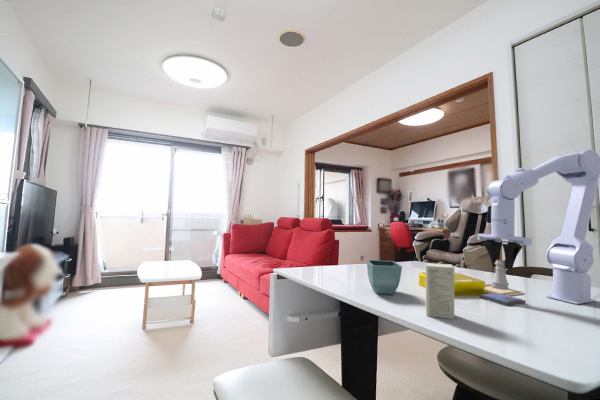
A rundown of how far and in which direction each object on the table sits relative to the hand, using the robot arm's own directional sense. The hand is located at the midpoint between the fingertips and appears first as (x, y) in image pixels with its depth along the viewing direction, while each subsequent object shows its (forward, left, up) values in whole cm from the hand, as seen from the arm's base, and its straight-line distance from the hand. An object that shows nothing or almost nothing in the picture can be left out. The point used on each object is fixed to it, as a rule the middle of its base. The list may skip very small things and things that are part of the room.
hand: (502, 267), depth 90 cm
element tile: (+4, -14, -10) cm, 18 cm away
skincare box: (+29, +3, -10) cm, 30 cm away
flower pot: (+29, -18, -10) cm, 35 cm away
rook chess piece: (+1, 0, -6) cm, 6 cm away
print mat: (-8, -8, -9) cm, 15 cm away
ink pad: (+1, 0, -9) cm, 9 cm away
